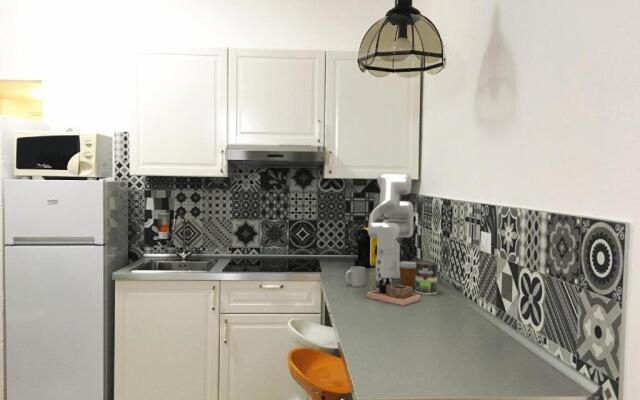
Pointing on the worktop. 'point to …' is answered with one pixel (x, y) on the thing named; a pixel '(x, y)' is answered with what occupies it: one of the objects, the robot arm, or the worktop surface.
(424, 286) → the coffee can
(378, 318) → the worktop surface
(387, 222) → the robot arm
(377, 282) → the grey piece
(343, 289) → the worktop surface
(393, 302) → the tray
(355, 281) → the cup
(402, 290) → the brown square frame
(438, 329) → the worktop surface
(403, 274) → the disposable coffee cup
